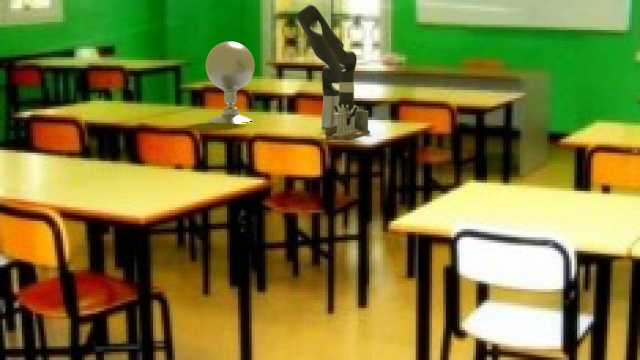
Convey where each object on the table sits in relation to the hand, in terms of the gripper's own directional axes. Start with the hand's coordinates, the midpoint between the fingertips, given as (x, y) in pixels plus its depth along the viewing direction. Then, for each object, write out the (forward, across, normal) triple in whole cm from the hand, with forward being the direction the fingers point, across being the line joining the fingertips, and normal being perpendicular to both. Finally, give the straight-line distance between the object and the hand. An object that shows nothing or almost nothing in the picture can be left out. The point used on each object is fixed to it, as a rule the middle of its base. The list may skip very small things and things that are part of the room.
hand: (346, 125), depth 511 cm
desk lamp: (+6, -85, +37) cm, 93 cm away
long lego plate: (+4, 0, 0) cm, 4 cm away
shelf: (+6, +1, +2) cm, 6 cm away
